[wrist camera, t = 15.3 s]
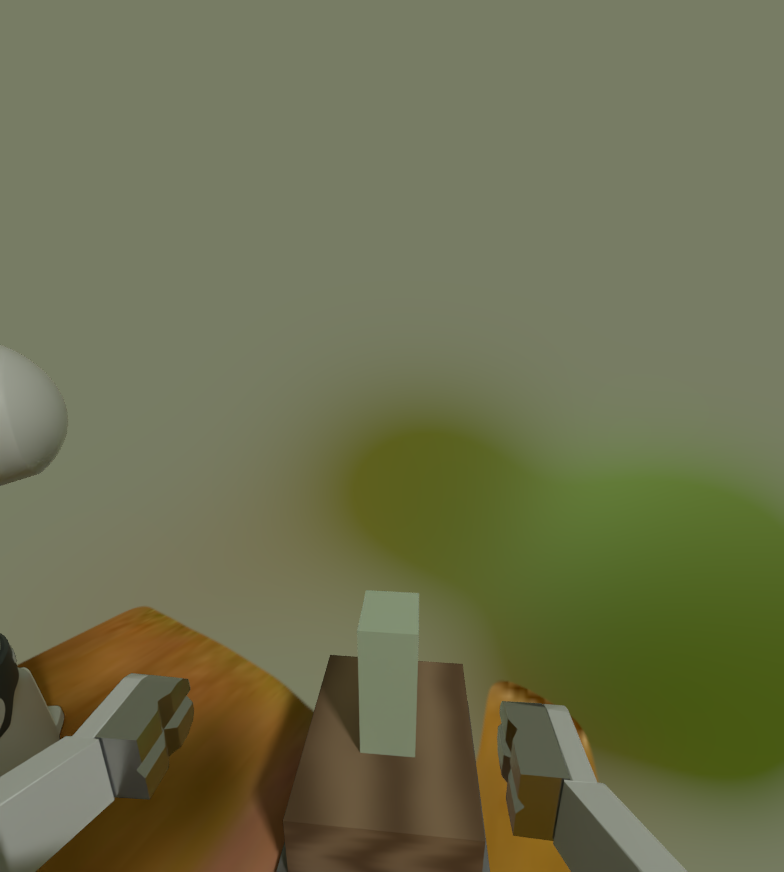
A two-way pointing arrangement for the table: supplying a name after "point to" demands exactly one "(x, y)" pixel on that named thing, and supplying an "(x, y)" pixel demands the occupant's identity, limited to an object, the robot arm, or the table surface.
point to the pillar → (388, 672)
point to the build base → (387, 785)
